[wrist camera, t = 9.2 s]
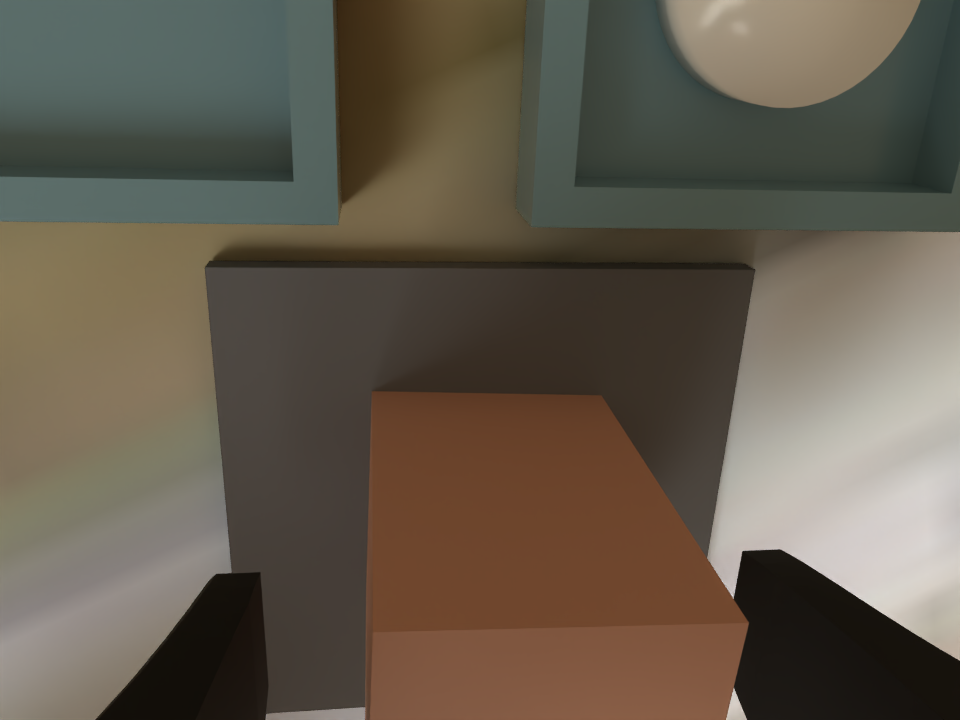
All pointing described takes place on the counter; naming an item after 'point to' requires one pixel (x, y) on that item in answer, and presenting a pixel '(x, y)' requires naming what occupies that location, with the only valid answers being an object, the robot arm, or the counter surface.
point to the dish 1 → (170, 111)
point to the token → (782, 45)
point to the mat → (448, 369)
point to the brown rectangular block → (533, 569)
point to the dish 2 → (730, 134)
